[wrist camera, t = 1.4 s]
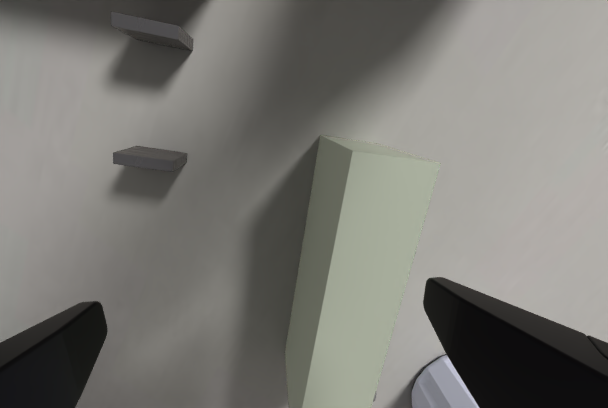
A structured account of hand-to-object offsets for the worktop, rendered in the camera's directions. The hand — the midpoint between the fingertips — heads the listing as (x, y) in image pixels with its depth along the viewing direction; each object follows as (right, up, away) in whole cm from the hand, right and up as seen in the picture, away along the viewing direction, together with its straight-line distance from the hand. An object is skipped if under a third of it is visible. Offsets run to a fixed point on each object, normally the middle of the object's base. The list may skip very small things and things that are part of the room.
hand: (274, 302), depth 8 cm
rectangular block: (+2, -1, +14) cm, 15 cm away
